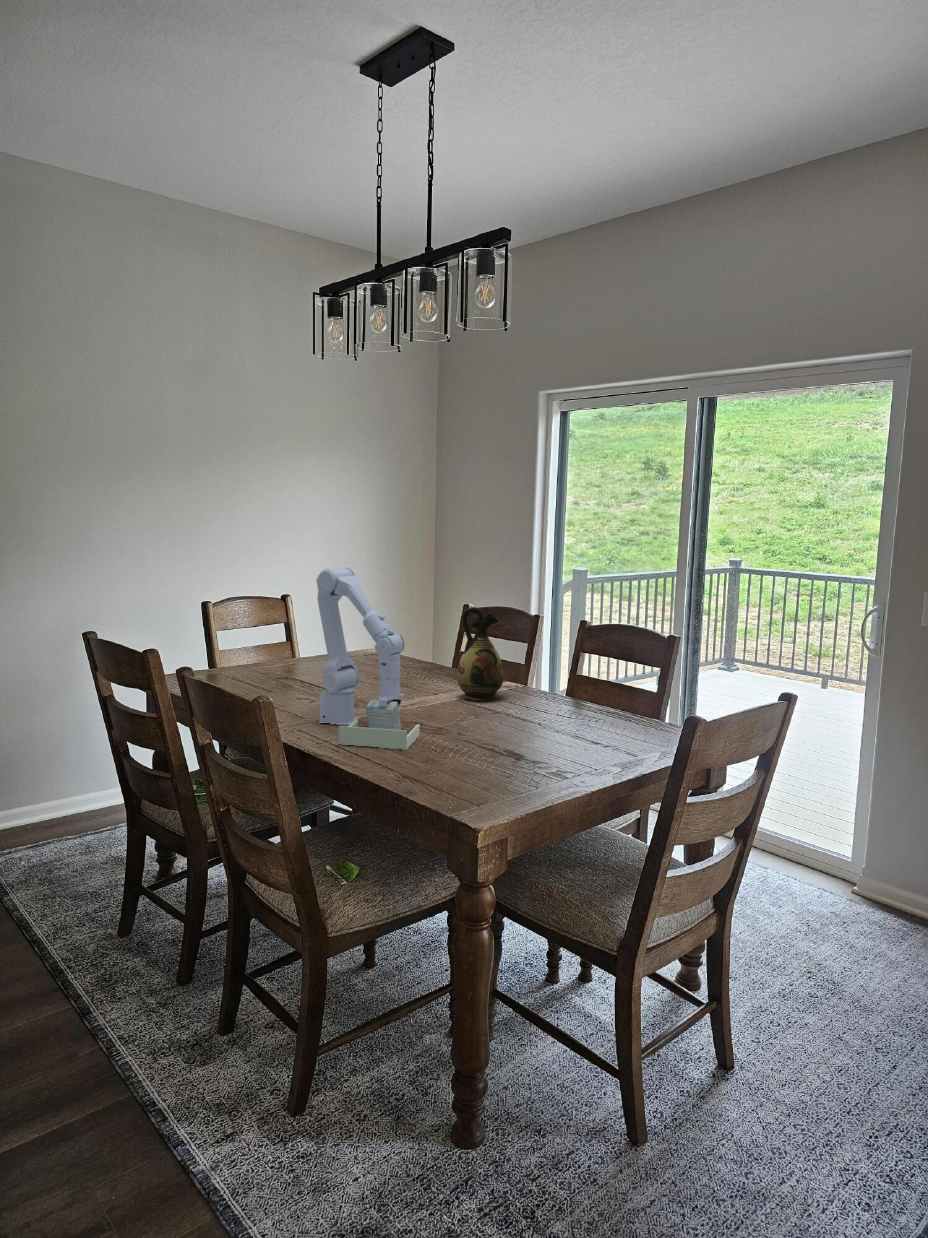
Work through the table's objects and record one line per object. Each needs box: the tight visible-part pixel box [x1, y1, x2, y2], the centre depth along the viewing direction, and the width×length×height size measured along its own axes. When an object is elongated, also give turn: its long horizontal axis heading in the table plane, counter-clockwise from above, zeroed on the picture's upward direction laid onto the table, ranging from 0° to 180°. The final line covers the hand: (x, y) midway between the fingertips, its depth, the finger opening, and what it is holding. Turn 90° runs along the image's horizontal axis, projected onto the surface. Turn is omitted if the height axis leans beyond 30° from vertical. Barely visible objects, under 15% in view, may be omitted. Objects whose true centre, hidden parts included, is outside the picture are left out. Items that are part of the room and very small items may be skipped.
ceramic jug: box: [456, 606, 505, 703], centre depth 265 cm, size 17×15×30 cm
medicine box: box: [365, 699, 402, 730], centre depth 220 cm, size 8×4×9 cm, turn 72°
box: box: [338, 719, 421, 751], centre depth 216 cm, size 18×15×5 cm
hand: (389, 726), depth 224 cm, fingers closed
